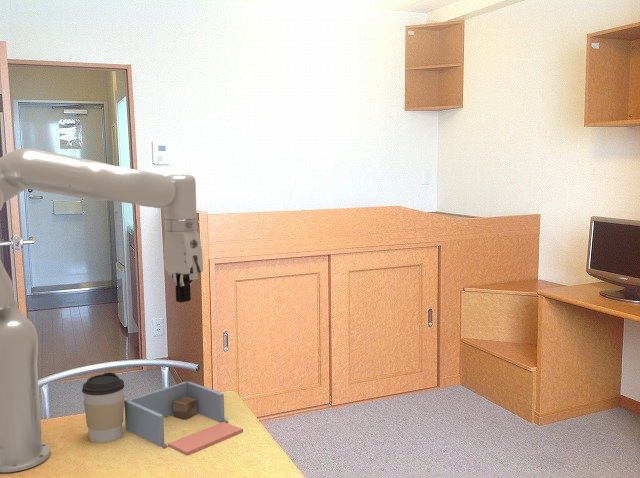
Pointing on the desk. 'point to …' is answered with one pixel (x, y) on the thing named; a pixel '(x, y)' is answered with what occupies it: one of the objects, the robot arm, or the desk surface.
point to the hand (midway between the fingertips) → (183, 301)
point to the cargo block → (185, 408)
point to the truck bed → (169, 409)
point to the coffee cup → (104, 407)
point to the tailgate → (205, 438)
